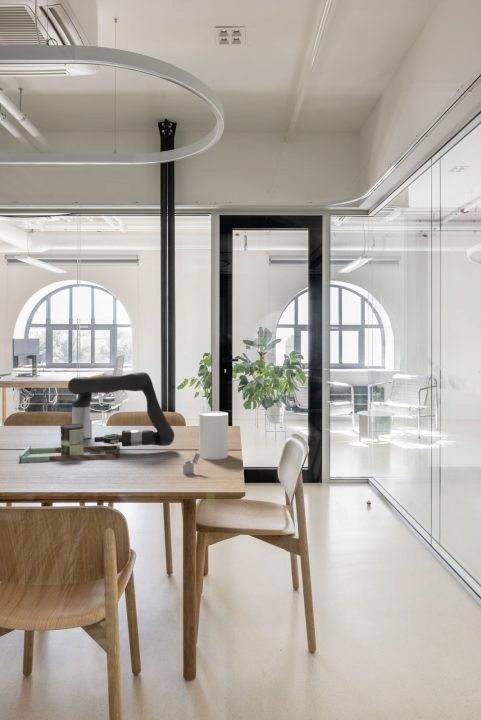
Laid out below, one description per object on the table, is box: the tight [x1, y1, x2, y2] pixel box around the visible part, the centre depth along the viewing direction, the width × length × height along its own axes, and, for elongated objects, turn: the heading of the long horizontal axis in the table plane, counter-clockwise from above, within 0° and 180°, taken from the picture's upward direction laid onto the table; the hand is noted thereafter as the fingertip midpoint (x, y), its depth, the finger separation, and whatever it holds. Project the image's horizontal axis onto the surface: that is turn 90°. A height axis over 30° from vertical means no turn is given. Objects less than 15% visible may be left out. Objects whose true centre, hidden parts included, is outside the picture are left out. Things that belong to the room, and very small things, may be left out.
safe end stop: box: [18, 445, 57, 463], centre depth 232 cm, size 13×18×3 cm
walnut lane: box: [18, 444, 121, 463], centre depth 235 cm, size 42×18×2 cm, turn 102°
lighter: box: [182, 452, 200, 476], centre depth 206 cm, size 7×2×8 cm, turn 118°
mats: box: [88, 450, 116, 454], centre depth 237 cm, size 12×14×1 cm
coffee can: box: [60, 423, 85, 456], centre depth 234 cm, size 10×10×14 cm
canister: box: [198, 410, 229, 461], centre depth 235 cm, size 14×14×20 cm
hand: (94, 439), depth 236 cm, fingers closed
